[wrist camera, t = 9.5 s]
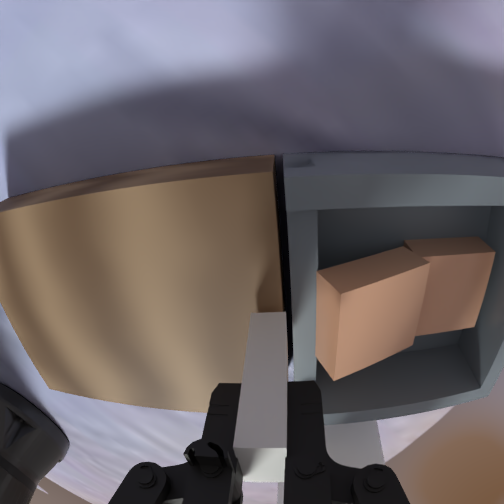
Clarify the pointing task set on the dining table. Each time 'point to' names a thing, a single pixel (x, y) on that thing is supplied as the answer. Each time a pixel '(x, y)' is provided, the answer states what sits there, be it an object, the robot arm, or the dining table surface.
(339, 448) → the milk
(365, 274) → the tile
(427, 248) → the tile
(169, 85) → the dining table surface
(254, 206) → the board
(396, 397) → the tray
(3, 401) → the robot arm
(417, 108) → the dining table surface
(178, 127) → the dining table surface
